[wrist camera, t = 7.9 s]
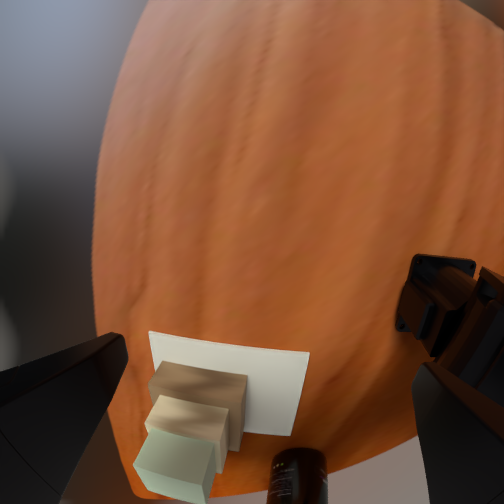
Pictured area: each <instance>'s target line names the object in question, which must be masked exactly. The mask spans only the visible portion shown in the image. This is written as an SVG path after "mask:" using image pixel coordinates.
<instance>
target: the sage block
mask: <svg viewBox="0 0 504 504" xmlns="http://www.w3.org/2000/svg"><path fill="white" fill-rule="evenodd" d="M133 466H134V468H135V470H136V471H137V473H138V475H139V476H140V478H141V480H142V481H143V483H144V485H145V486H146V488H147V489H148V490H150V491H153V492H156V493H159V494H162V495H165V496H168V497H172V498H175V499H179V500H183V501H187V502H191V503H196V504H207V502H208V498H209V495H210V491H211V488H212V484H213V480H214V477H215V473H216V462H215V449H214V443H211V442H206V441H201V440H196V439H192V438H187V437H183V436H179V435H175V434H172V433H168V432H164V431H161V430H157V429H154V428H152V429H151V431H150V433H149V435H148V436H147V438H146V440H145V442H144V444H143V446H142V448H141V450H140V452H139V454H138V456H137V458H136V460H135V462H134V464H133Z"/></svg>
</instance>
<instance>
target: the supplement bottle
mask: <svg viewBox="0 0 504 504" xmlns="http://www.w3.org/2000/svg"><path fill="white" fill-rule="evenodd" d="M327 482H328V480H327V460H326V457H325V456H324V455H323V454H322V453H321V452H319V451H317V450H314V449H308V448H295V449H289V450H285V451H283V452H281V453H279V454H277V455H276V456H275V457H274V458H273V460H272V465H271V472H270V480H269V487H268V495H267V503H266V504H328V483H327Z"/></svg>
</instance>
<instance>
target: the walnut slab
mask: <svg viewBox="0 0 504 504" xmlns="http://www.w3.org/2000/svg"><path fill="white" fill-rule="evenodd" d="M148 388H149V392H150V396H151V399H152V403H153V406H154V405H155V403H156V401H157V399H158V397H159V395H163V396H167V397H171V398H175V399H180V400H184V401H189V402H194V403H199V404H204V405H209V406H215V407H220V408H227V409H229V447H228V450H230V451H237V452H239V450H240V445H241V440H242V436H243V431H244V424H245V407H246V390H247V375H243V374H236V373H228V372H222V371H215V370H209V369H203V368H198V367H192V366H187V365H182V364H177V363H172V362H167V361H163V360H162V362H161V363H160V365H159V367H158V368H157V370H156V371H155V373H154V375H153V376H152V378H151V379H150V381H149V383H148Z"/></svg>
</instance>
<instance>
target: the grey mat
mask: <svg viewBox="0 0 504 504" xmlns="http://www.w3.org/2000/svg"><path fill="white" fill-rule="evenodd" d="M149 338H150V344H151V350H152V356H153V361H154V367H155V371H156V370H157V368H158V367H159V365H160V363H161V362H162V360H163V361H167V362H172V363H177V364H182V365H187V366H192V367H198V368H203V369H209V370H215V371H222V372H228V373H236V374H243V375H247V390H246V407H245V424H244V431H243V432H251V433H259V434H269V435H281V436H290V435H291V431H292V427H293V424H294V420H295V416H296V412H297V408H298V404H299V400H300V396H301V392H302V387H303V383H304V379H305V374H306V369H307V365H308V360H309V355H310V352H299V351H287V350H275V349H265V348H256V347H247V346H239V345H231V344H224V343H217V342H210V341H203V340H197V339H191V338H185V337H180V336H174V335H169V334H164V333H158V332H154V331H149Z"/></svg>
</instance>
